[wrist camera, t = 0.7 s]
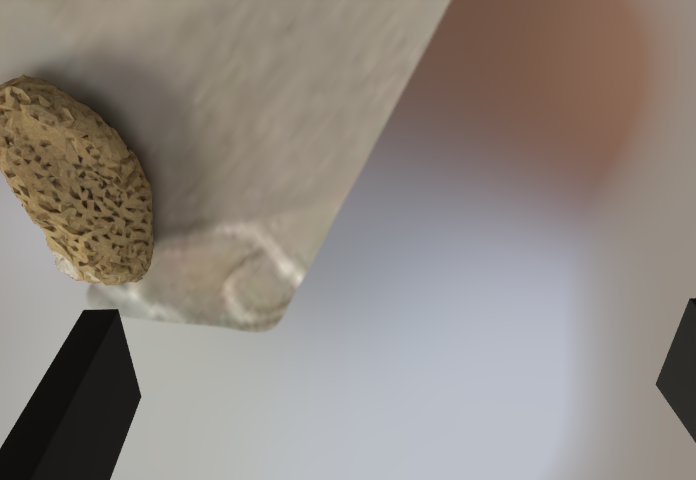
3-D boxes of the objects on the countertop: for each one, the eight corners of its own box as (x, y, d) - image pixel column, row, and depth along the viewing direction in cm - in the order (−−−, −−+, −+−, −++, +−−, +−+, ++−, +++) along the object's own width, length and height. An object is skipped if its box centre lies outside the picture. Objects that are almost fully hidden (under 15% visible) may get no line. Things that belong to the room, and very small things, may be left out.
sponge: (169, 243, 61) (154, 86, 46) (145, 301, 55) (119, 144, 41) (46, 221, 60) (-8, 53, 45) (10, 278, 54) (-66, 108, 40)
